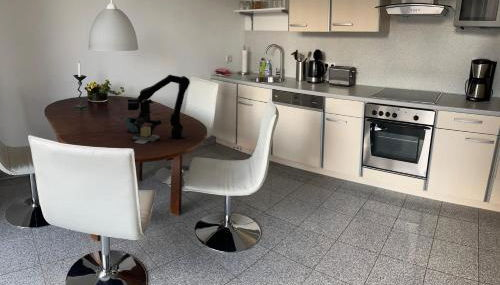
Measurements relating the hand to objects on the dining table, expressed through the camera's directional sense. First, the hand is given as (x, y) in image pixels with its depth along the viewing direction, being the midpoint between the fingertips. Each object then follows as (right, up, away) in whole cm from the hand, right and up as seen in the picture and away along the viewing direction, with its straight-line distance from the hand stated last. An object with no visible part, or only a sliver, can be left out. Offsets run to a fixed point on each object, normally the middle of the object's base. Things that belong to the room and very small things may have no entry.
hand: (145, 134), depth 232 cm
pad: (-1, -5, -6) cm, 8 cm away
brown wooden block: (0, -3, +1) cm, 3 cm away
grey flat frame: (0, -2, +1) cm, 3 cm away
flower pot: (-11, +2, +15) cm, 19 cm away
